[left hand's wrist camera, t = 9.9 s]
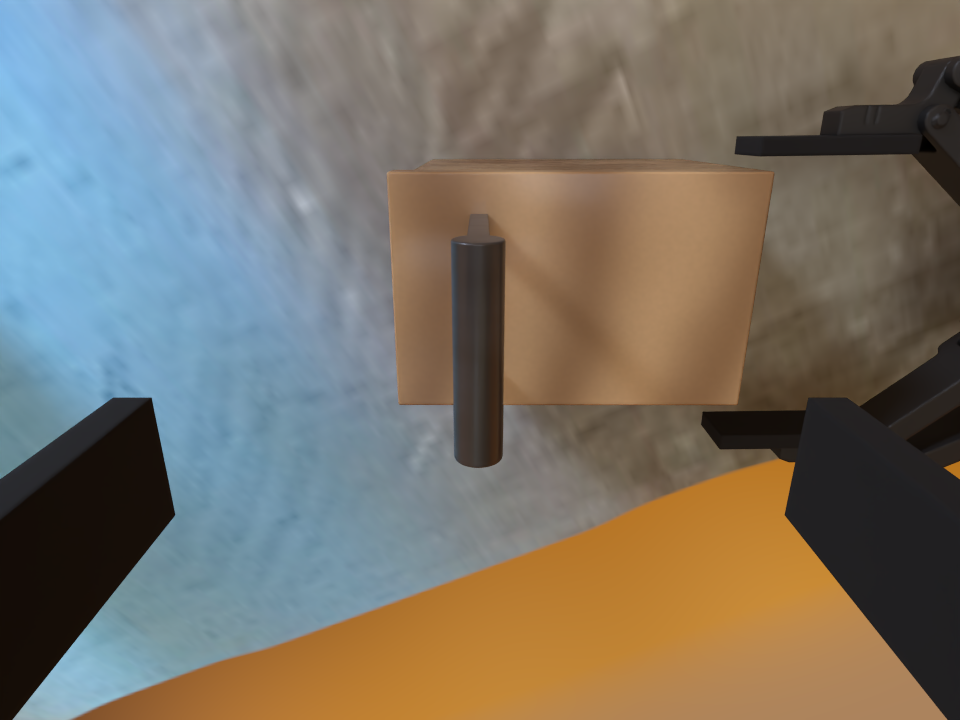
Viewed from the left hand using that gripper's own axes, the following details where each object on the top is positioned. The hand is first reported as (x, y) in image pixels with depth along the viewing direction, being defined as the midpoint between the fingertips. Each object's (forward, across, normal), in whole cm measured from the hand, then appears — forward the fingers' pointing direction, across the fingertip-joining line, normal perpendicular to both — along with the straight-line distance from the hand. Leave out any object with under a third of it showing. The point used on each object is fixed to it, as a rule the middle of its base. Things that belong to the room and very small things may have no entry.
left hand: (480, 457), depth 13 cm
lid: (+14, -4, 0) cm, 15 cm away
